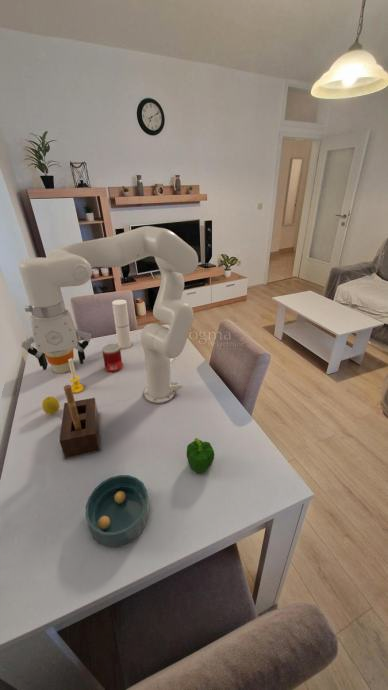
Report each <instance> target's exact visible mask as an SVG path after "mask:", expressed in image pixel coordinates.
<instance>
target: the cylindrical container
mask: <svg viewBox="0 0 388 690" xmlns="http://www.w3.org/2000/svg"><path fill="white" fill-rule="evenodd" d="M111 305H112V306H111V307H112V313H113V320H114V326H115V333H116V335H115V336H116V341H117V345H119V346H120V349H129V348H130V347H131V346H132V338H131V329H130V320H129V319H130V318H129V311H128V310H129V309H128V303H127V300H126V299H115V300H113V301H112V302H111Z"/></svg>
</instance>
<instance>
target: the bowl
mask: <svg viewBox="0 0 388 690" xmlns="http://www.w3.org/2000/svg"><path fill="white" fill-rule="evenodd" d="M118 491H123V492H124V493H125V495H126V498H125V500H124V502H122V503H116V502H115V500H114V496H115V494H116V493H117V492H118ZM148 494H149V493H148V490H147V488H146V486H145V485H144V482H143V481H141V480H140V479H138V477H135V476H132V475H129V474H119V475H115V476H111V477H109V478H107V479H105V480H103V481H101V483H99V484H98V485H97V486H96V487H95V488H94V489H93V490H92V491H91V494H90V495H89V496H88V499H87V502H86V504H85V519H86V522H87V526H88V529H89V531H90V534H91V536H92V538H93V539H94V540H95V541H96V542H97V544H99V545H102V546H104V547H106V548H118V547H122V546H124V545H128V544H129V543H130V542H132V541H133V540H135V539H137V537H139V535H140V534H141V533H142V532H143V530H144V529H145V527H146V525H147V522H148V520H149V516H150V502H149V495H148ZM102 516H107V517H109V519H110V525H109V527H108V528H107V529H105V530H101V529H100V528H99V527H98V520H99V519H100V518H101V517H102Z"/></svg>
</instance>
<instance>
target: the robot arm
mask: <svg viewBox="0 0 388 690" xmlns="http://www.w3.org/2000/svg"><path fill="white" fill-rule="evenodd" d="M147 257H154V260H155V261H154V262H155V263H156V265H157V267H158V269H159V273H160V275H161V281H160V285H159V289H158V292H157V296H156V299H155V301H154V305H153V309H152V316H153V317H154V318H155V319H156V320H157V321H159V322H161V323H164V324H166V325H168V326H169V328H168V327H167V326H165V325H162V324H160V323H155V322H154V323H153V322H151V323H147V324H146V325H145V326H143V328H142V329H141V332H140V342H141V346H142V349H143V353H144V361H145V372H146V385H147V386H146V388H145V389H144V392H143V393H144V398H145V400H147V401H148V402H150V403H153V404H163V403H166V402H169V401H170V400H172V399H173V397H174V396H175V391H176V390H179V389H182V388H183V384H182V383H178V381H171V359H176V358H178V357H179V356H180V355H181V354H182V352H183V350H184V348H185V346H186V343H187V340H188V337H189V334H190V331H191V328H192V326H193V322H194V317H195V315H194V309H193V307H192V306H191V305H190V304H189V303H188V302H185V301H182V297H183V293H184V290H185V278H184V275H190V274H192V273H194V272H195V271H196V270H197V268H198V266H199V256H198V253H197V251H196V250H195V249H194V248H193V247H192V246H191V245H189V244H188V243H187V242H186V241H185V240H183V239H182V238H181V237H180V236H178V235H177V234H176V233H175V232H173V231H172V230H170V229H167V228H164V227H157V226H152V225H147V226H146V225H145V226H140V227H137V228H135V229H130V230H128V231H124V232H121V233H118V234H115V235H111V236H108V237H100V238H96V239H91V240H85V241H79V242H76V243H75V242H74V243H72V244H68V245H65V246H62V247H59V248H56V249H53V250H51V251H50V252H49V253H48V254H47V255H46V256H45V257H30V258H26V259H23V260H22V261H20V262H19V264H18V270H19V273H20V276H21V280H22V283H23V285H24V290H25V293H26V295H27V299H28V302H29V305H28V306H24V311H25V312H26V313H31V316H30V318H29V319H30V328H31V333H32V336H30V337H29V338H27V339H25V340H24V341H23V342H21V345H20V346H21V348H23V349H24V350H25V351H26V352H27V353H28V354H30V355H31V356H34V357H35V358H36V359H37V362H38V365H39V366H40V367H42V370H43V371H46V370H47V369H48V364H49V362H48V360H47V358H46V356H45V353H48V352H56V351H63V350H69V349H73V350H74V349H75V350H77V356H78V360H79V364H80V365H84V360H86V355H85V354H86V353H85V349H86V348H87V347H88V345H89V344H90V341H91V338H92V334H91V333H90V332H87V331H82V330H78V329H77V328H76V326H75V323H74V320H73V317H72V316H71V313H70V311H69V310H68V309H66V305H65V301H64V298H63V293H62V290H61V288H67V287H77V286H83V285H85V284H86V283H88V282H89V281H90V280H91V278H92V275H93V268H121V267H125V266H127V265H129V264H132V263H135V262H138V261H141V260H143V259H145V258H147ZM79 338H83V339H84V340H83V341H82V342H81V341H80V340H79ZM33 343H34V345H35V347H34V346H32V344H33Z"/></svg>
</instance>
